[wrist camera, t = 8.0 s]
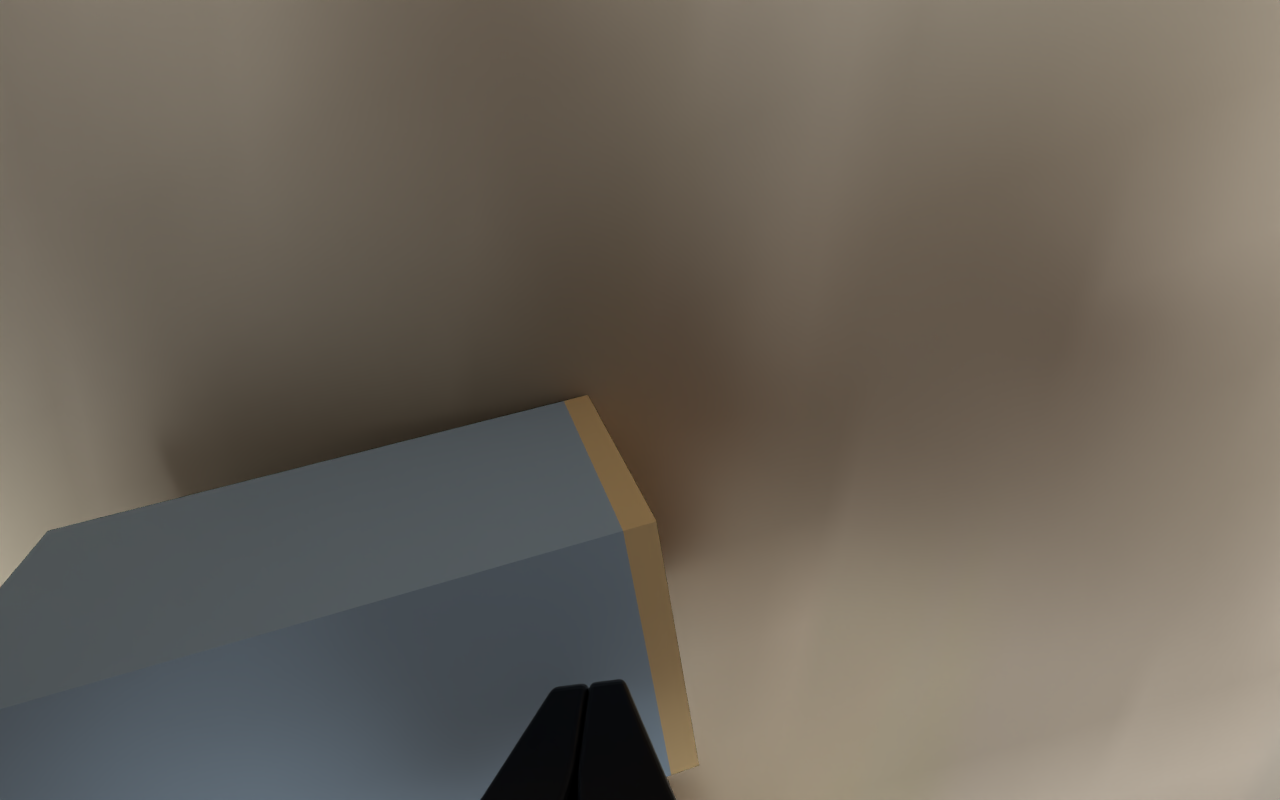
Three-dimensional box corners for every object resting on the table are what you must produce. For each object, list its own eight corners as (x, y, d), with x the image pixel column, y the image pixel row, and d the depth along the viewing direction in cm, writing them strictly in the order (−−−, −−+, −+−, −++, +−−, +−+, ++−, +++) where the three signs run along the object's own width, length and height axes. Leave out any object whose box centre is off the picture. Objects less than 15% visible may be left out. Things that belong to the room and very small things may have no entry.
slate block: (656, 521, 9) (-136, 747, 7) (698, 765, 10) (60, 987, 9) (587, 395, 12) (48, 530, 11) (627, 591, 14) (163, 731, 13)
